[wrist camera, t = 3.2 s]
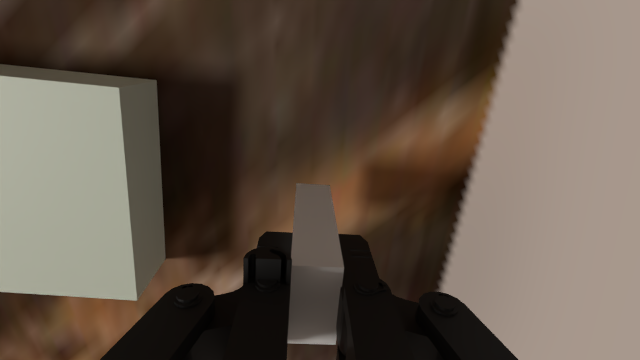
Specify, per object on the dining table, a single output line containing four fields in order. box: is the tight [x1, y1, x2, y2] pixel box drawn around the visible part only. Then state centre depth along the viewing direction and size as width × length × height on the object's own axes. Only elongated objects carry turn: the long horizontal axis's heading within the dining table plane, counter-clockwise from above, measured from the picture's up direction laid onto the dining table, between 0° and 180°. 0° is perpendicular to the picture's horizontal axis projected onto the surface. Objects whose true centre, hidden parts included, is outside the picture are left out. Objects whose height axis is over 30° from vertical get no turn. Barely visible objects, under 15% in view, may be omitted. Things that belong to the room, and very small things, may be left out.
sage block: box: [0, 64, 166, 301], centre depth 17 cm, size 12×10×4 cm
